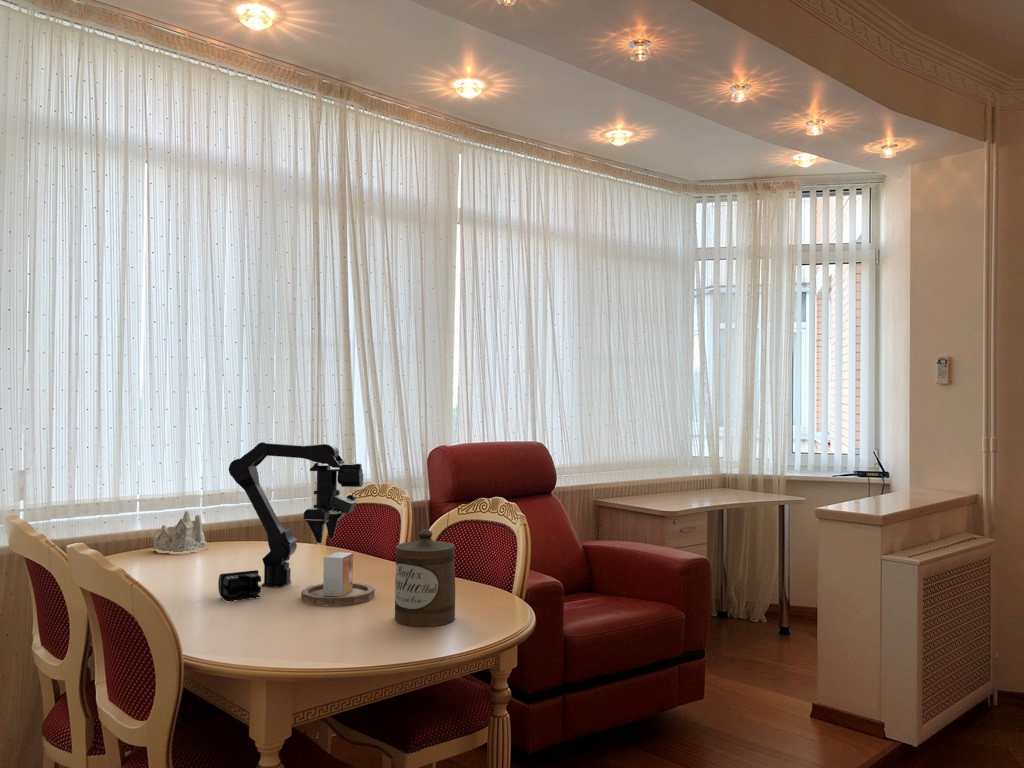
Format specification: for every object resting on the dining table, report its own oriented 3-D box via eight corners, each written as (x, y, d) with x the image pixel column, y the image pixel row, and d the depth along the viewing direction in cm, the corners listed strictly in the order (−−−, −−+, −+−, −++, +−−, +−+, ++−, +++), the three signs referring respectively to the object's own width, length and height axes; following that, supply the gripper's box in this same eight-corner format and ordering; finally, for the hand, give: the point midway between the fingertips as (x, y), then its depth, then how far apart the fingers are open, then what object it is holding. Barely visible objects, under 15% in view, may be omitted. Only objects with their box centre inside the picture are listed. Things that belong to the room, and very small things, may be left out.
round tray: (290, 603, 214) (290, 596, 214) (318, 587, 233) (318, 580, 233) (359, 607, 211) (359, 599, 211) (382, 590, 230) (382, 583, 230)
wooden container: (382, 621, 198) (383, 530, 199) (419, 608, 211) (420, 523, 212) (430, 630, 191) (431, 536, 191) (466, 617, 203) (467, 528, 204)
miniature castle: (215, 547, 294) (212, 506, 294) (181, 557, 279) (178, 513, 279) (181, 547, 300) (179, 506, 300) (146, 556, 284) (144, 513, 285)
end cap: (254, 592, 227) (255, 568, 227) (262, 597, 221) (262, 572, 221) (217, 597, 221) (218, 572, 222) (224, 602, 215) (225, 576, 216)
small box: (342, 597, 218) (342, 557, 218) (322, 596, 219) (323, 556, 219) (353, 590, 226) (353, 552, 226) (334, 589, 227) (334, 551, 227)
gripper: (341, 490, 226) (340, 547, 226) (363, 484, 245) (363, 536, 245) (303, 489, 228) (302, 545, 228) (328, 483, 247) (327, 535, 246)
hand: (325, 540), depth 237 cm, fingers open, 9 cm apart
